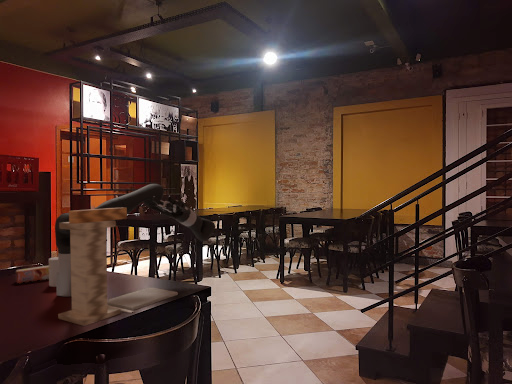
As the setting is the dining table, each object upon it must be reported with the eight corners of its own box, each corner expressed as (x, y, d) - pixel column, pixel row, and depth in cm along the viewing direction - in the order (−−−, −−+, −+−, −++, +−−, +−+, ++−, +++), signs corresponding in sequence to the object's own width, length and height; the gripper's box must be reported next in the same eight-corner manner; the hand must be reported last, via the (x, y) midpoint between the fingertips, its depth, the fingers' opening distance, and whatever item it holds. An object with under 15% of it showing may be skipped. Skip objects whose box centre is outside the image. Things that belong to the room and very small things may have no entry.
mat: (131, 310, 136) (131, 307, 136) (102, 303, 145) (102, 301, 145) (177, 294, 156) (177, 292, 156) (149, 289, 164) (149, 287, 164)
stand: (95, 307, 141) (93, 219, 140) (120, 313, 133) (118, 220, 133) (58, 318, 129) (56, 222, 129) (83, 325, 122) (81, 224, 121)
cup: (53, 282, 180) (53, 256, 179) (72, 281, 180) (71, 256, 180) (45, 286, 172) (45, 260, 171) (64, 286, 172) (64, 259, 172)
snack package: (16, 284, 177) (16, 270, 177) (15, 282, 182) (14, 267, 182) (67, 277, 190) (67, 264, 190) (64, 275, 195) (64, 262, 195)
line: (130, 313, 133) (130, 312, 133) (94, 304, 144) (94, 303, 144) (134, 312, 135) (134, 311, 135) (97, 303, 145) (97, 302, 145)
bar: (119, 218, 144) (119, 207, 144) (126, 218, 142) (126, 207, 142) (69, 222, 127) (69, 210, 127) (76, 223, 125) (76, 211, 125)
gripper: (175, 207, 178) (151, 190, 166) (199, 207, 170) (176, 189, 158) (169, 222, 174) (145, 205, 162) (193, 223, 167) (170, 206, 155)
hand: (160, 198), depth 160 cm, fingers open, 8 cm apart
